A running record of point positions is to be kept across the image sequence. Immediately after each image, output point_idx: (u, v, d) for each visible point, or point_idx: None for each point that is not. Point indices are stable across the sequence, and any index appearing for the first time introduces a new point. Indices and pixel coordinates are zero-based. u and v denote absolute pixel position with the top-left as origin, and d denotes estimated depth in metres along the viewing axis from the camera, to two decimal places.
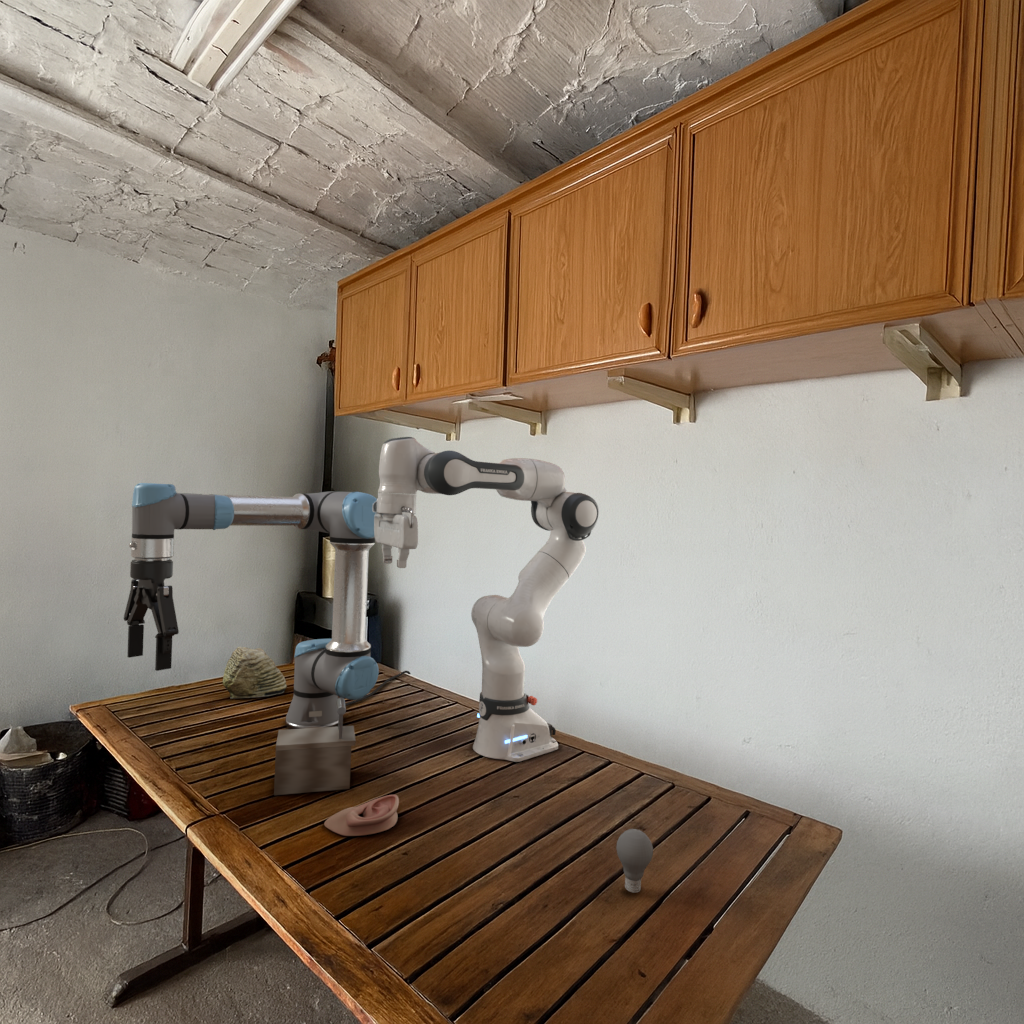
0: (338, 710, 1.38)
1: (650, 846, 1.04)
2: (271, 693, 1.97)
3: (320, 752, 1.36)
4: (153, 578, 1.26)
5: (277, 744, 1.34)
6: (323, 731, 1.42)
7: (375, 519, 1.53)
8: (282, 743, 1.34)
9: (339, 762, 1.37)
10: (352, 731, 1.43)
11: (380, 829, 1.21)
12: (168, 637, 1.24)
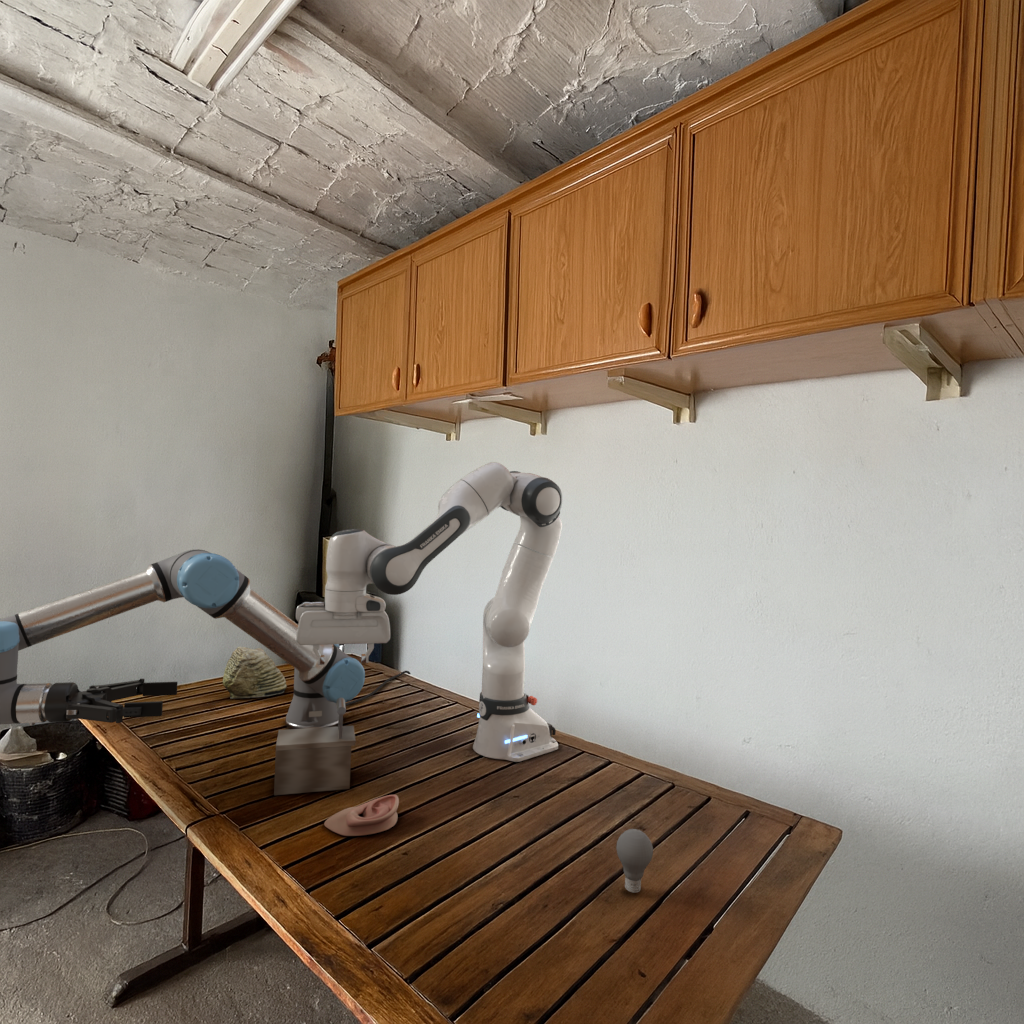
0: (338, 710, 1.38)
1: (650, 846, 1.04)
2: (271, 693, 1.97)
3: (320, 752, 1.36)
4: (63, 713, 1.23)
5: (277, 744, 1.34)
6: (323, 731, 1.42)
7: None
8: (282, 743, 1.34)
9: (339, 762, 1.37)
10: (352, 731, 1.43)
11: (380, 829, 1.21)
12: (121, 712, 1.21)
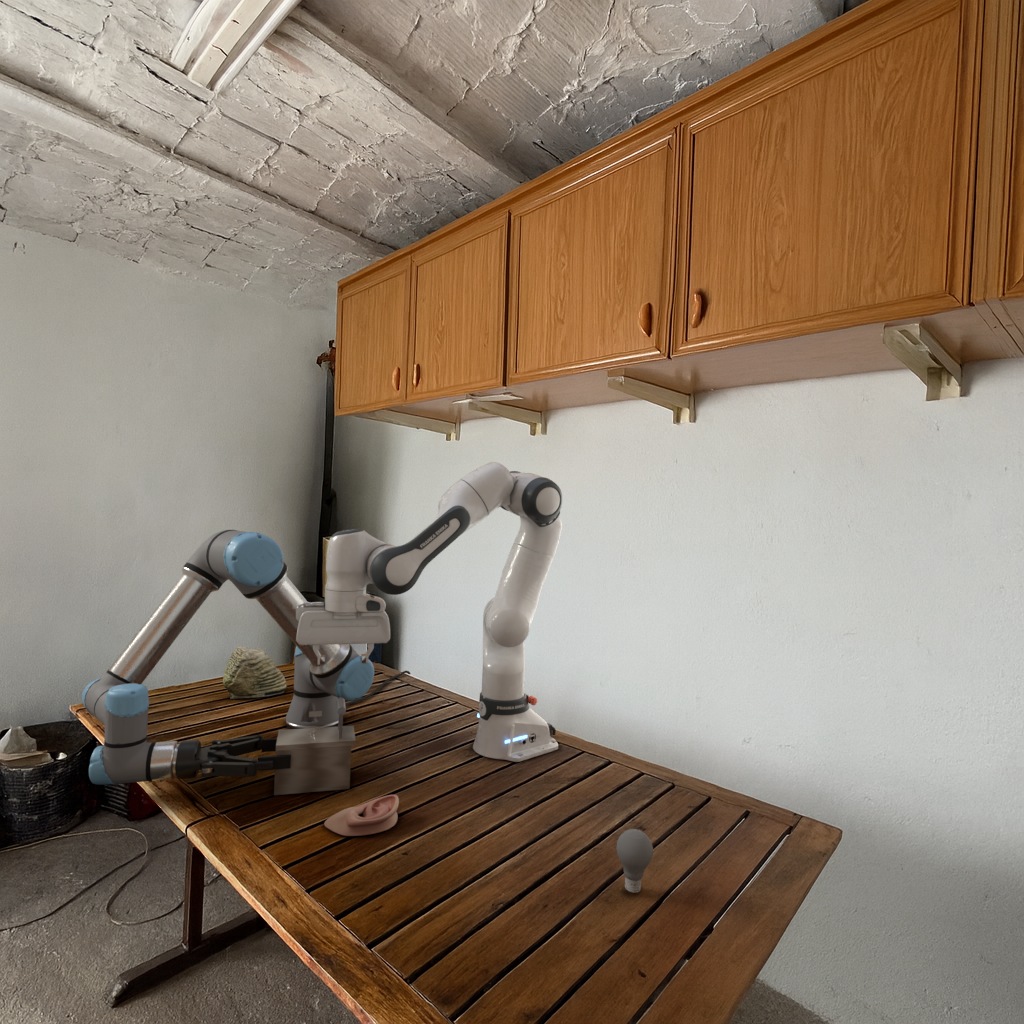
0: (338, 710, 1.38)
1: (650, 846, 1.04)
2: (271, 693, 1.97)
3: (319, 752, 1.36)
4: (193, 771, 1.30)
5: (277, 744, 1.34)
6: (323, 731, 1.42)
7: None
8: (282, 743, 1.34)
9: (339, 762, 1.37)
10: (352, 731, 1.43)
11: (380, 829, 1.21)
12: (256, 766, 1.30)
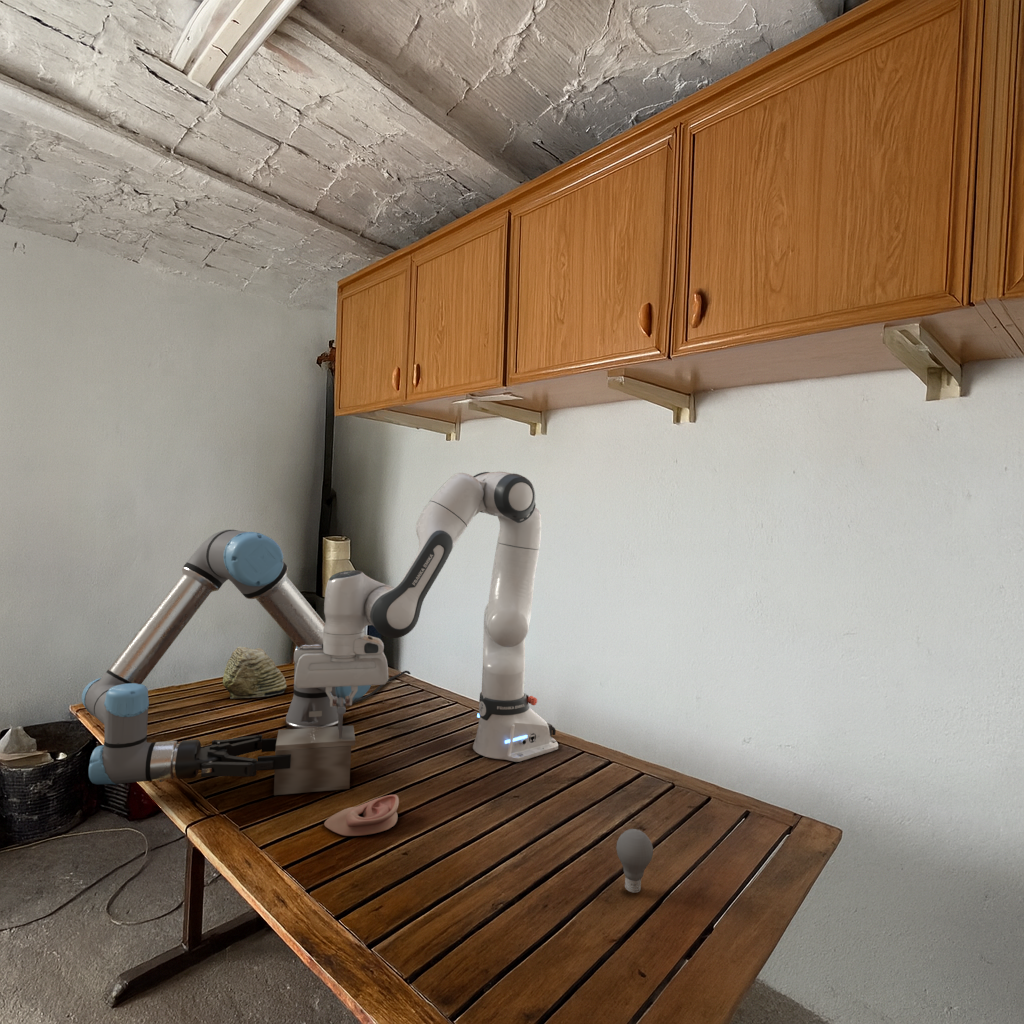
0: (338, 710, 1.38)
1: (650, 846, 1.04)
2: (271, 693, 1.97)
3: (319, 751, 1.36)
4: (192, 770, 1.30)
5: (277, 744, 1.34)
6: (323, 731, 1.42)
7: None
8: (282, 743, 1.34)
9: (339, 762, 1.37)
10: (352, 731, 1.43)
11: (380, 829, 1.21)
12: (256, 766, 1.30)
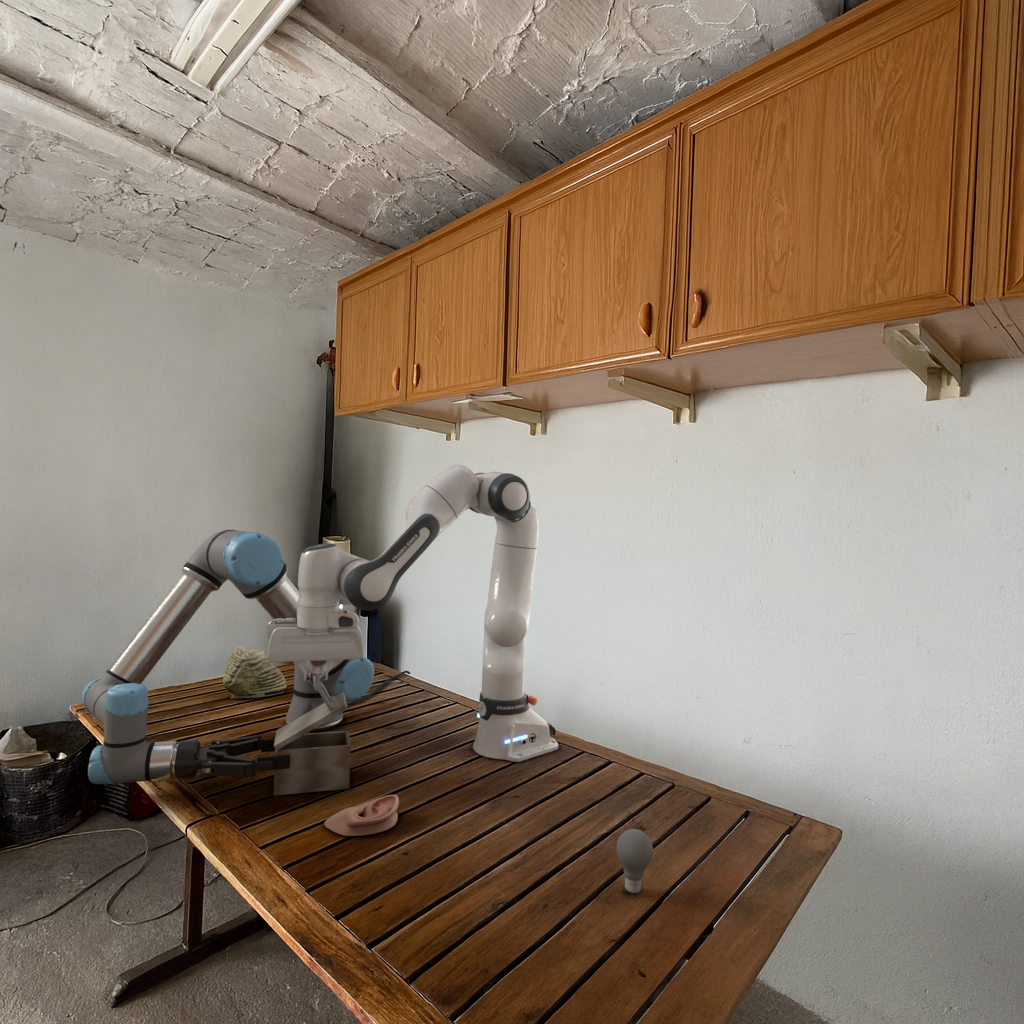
0: (314, 687, 1.36)
1: (650, 846, 1.04)
2: (271, 693, 1.97)
3: (319, 752, 1.36)
4: (192, 771, 1.30)
5: (275, 744, 1.34)
6: (316, 711, 1.41)
7: None
8: (279, 741, 1.34)
9: (339, 762, 1.37)
10: (342, 697, 1.42)
11: (380, 829, 1.21)
12: (255, 766, 1.30)
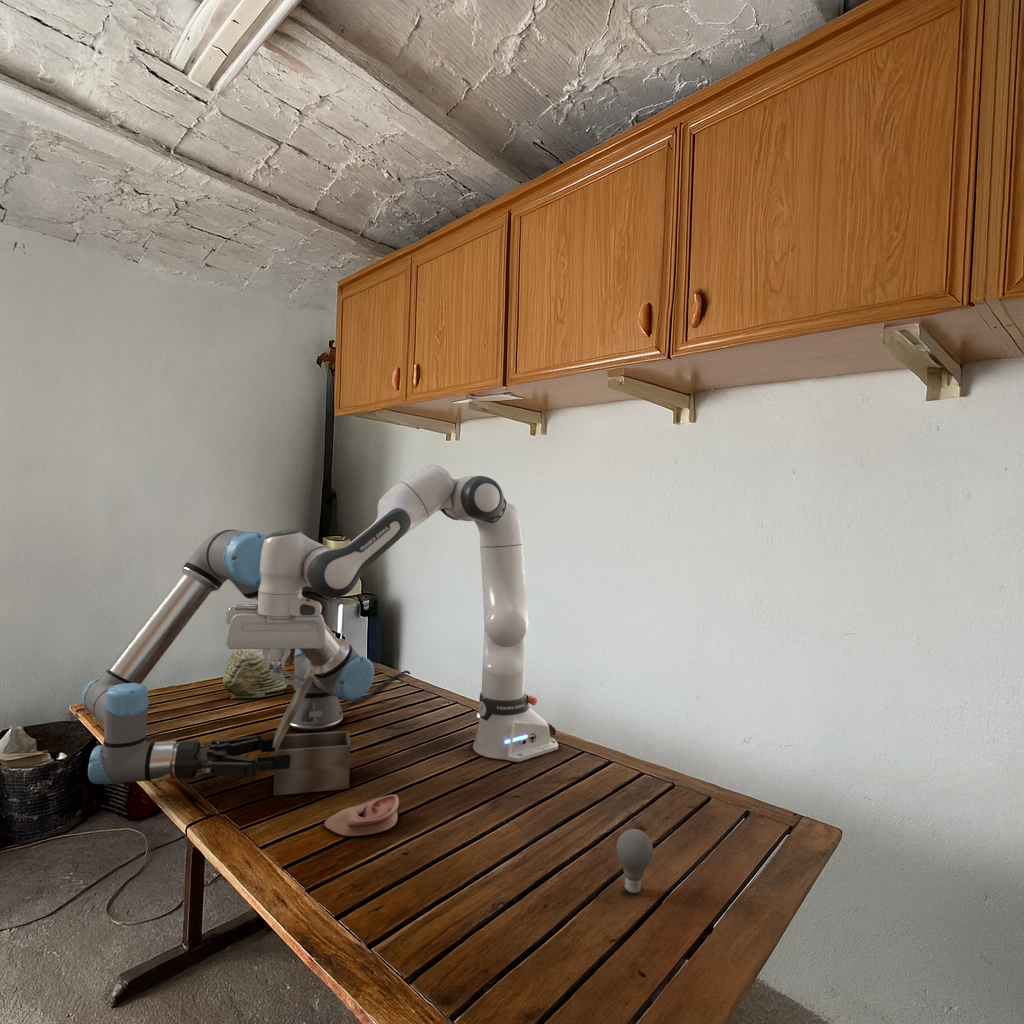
0: (272, 679, 1.34)
1: (650, 846, 1.04)
2: (271, 693, 1.97)
3: (319, 752, 1.36)
4: (192, 770, 1.30)
5: (273, 745, 1.34)
6: (295, 696, 1.40)
7: None
8: (275, 740, 1.34)
9: (339, 762, 1.37)
10: (308, 671, 1.40)
11: (380, 829, 1.21)
12: (255, 766, 1.30)
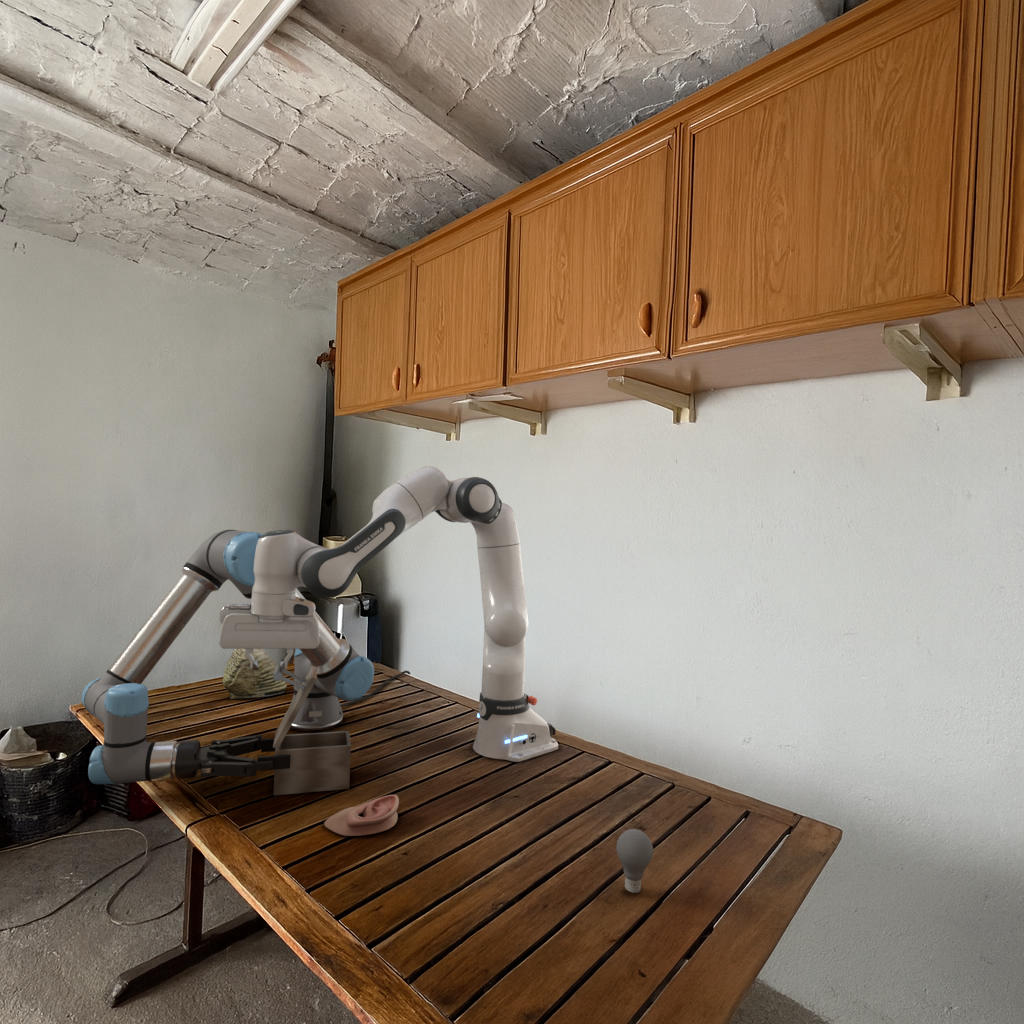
0: (275, 679, 1.34)
1: (650, 846, 1.04)
2: (271, 693, 1.97)
3: (319, 752, 1.36)
4: (192, 770, 1.30)
5: (273, 745, 1.34)
6: (296, 696, 1.40)
7: None
8: (276, 740, 1.34)
9: (339, 762, 1.37)
10: (311, 671, 1.40)
11: (380, 829, 1.21)
12: (256, 766, 1.30)
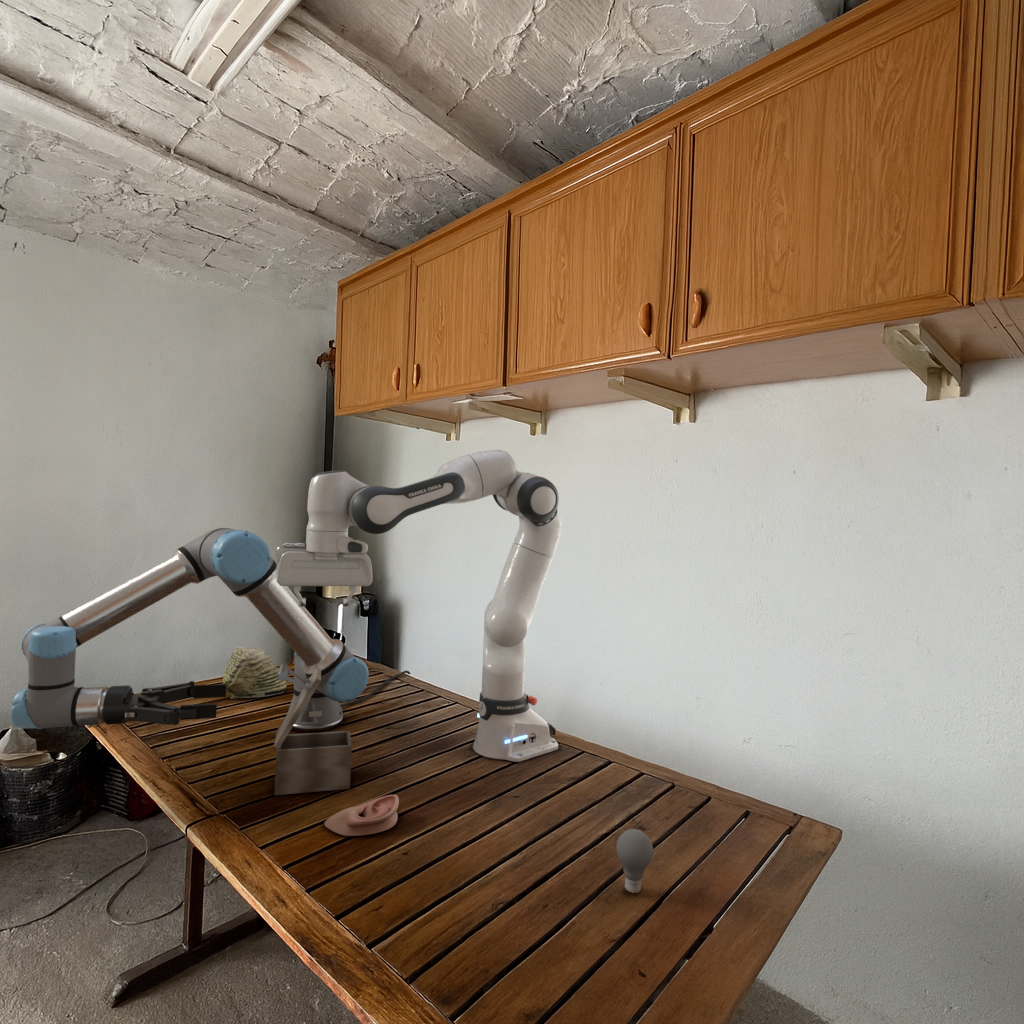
0: (279, 678, 1.34)
1: (650, 846, 1.04)
2: (271, 693, 1.97)
3: (320, 751, 1.36)
4: (121, 715, 1.26)
5: (274, 744, 1.34)
6: (299, 697, 1.40)
7: None
8: (277, 740, 1.34)
9: (340, 762, 1.37)
10: (315, 673, 1.40)
11: (380, 829, 1.21)
12: (178, 715, 1.24)
